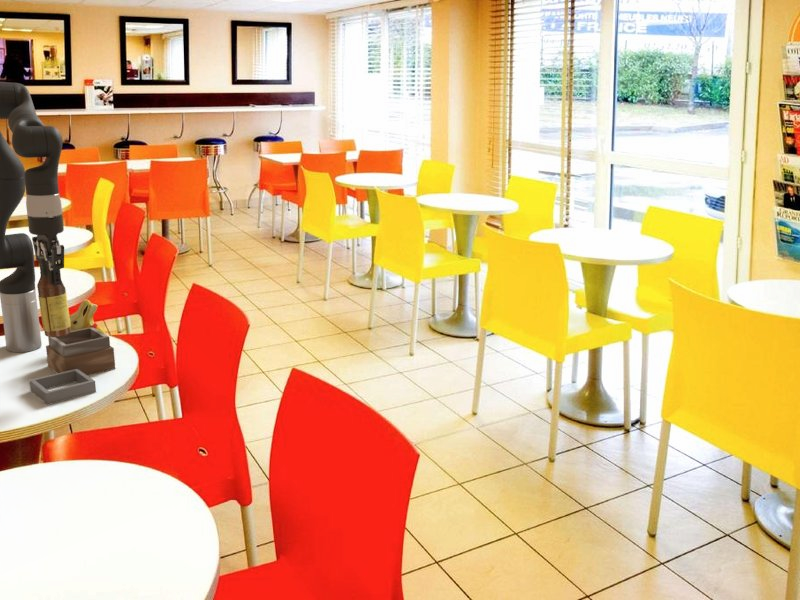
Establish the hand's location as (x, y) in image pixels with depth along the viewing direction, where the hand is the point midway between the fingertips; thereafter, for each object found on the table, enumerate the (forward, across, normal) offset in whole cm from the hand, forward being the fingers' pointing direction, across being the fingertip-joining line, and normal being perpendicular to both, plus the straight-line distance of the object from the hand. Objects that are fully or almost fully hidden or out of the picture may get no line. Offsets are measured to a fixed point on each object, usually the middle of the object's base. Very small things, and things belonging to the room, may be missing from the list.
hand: (51, 282), depth 186 cm
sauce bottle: (+14, 0, 0) cm, 14 cm away
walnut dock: (+29, -13, +10) cm, 33 cm away
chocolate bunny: (+29, -25, +17) cm, 42 cm away
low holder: (+29, 0, 0) cm, 29 cm away
